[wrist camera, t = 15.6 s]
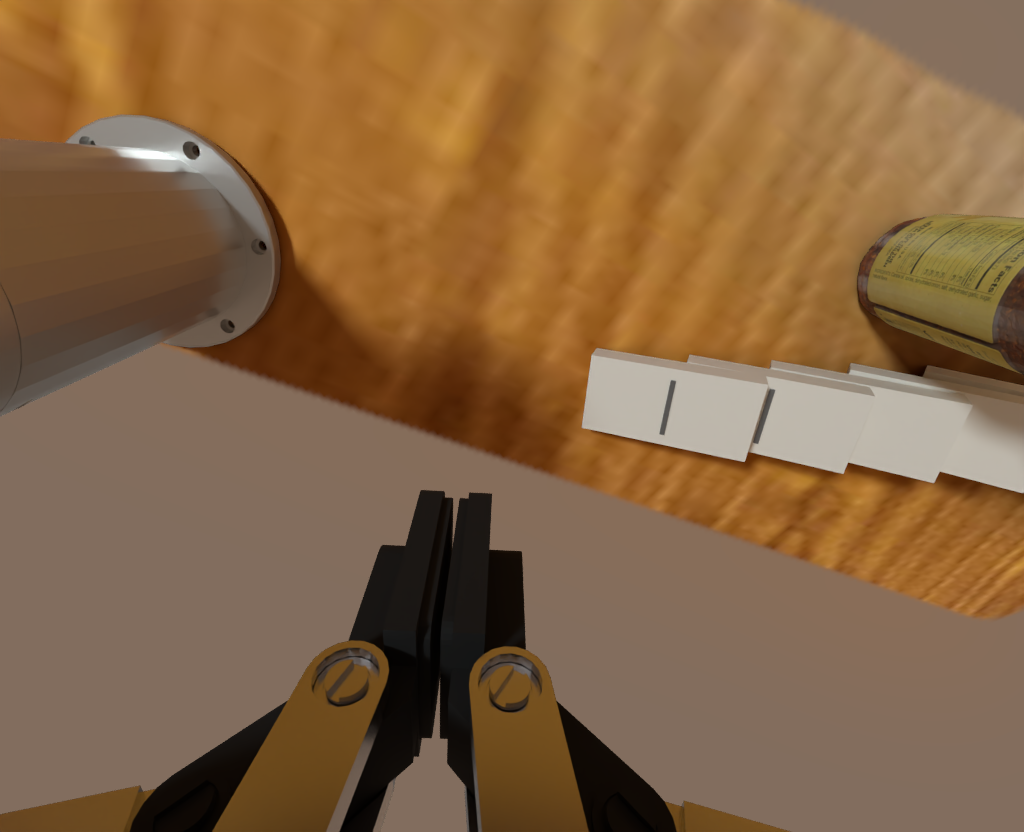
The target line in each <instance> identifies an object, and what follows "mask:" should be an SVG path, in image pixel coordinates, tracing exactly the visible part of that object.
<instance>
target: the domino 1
mask: <svg viewBox="0 0 1024 832" xmlns="http://www.w3.org/2000/svg"><path fill="white" fill-rule="evenodd" d="M767 388H768V382H767V378H766V376H764V375H758V374H752V373H746V372H740V371H734V370H728V369H722V368H716V367H710V366H703V365H697V364H691V363H685V362H679V361H673V360H667V359H661V358H655V357H649V356H642V355H636V354H630V353H624V352H618V351H612V350H606V349H600V348H596V350H595V351H594V353H593V354H592V357H591V364H590V371H589V379H588V386H587V393H586V400H585V408H584V415H583V422H582V428H585V429H590V430H595V431H600V432H604V433H609V434H614V435H619V436H623V437H628V438H633V439H638V440H642V441H647V442H652V443H656V444H661V445H666V446H671V447H675V448H680V449H685V450H690V451H694V452H699V453H704V454H709V455H713V456H718V457H723V458H728V459H732V460H737V461H742V462H745V460H746V457H747V453H748V450H749V447H750V444H751V440H752V437H753V434H754V431H755V427H756V424H757V421H758V417H759V414H760V411H761V408H762V404H763V401H764V398H765V395H766V391H767Z"/></svg>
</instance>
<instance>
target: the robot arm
mask: <svg viewBox="0 0 1024 832" xmlns="http://www.w3.org/2000/svg"><path fill="white" fill-rule="evenodd" d="M197 148H199V150H200V155H199V154H198V152H197ZM262 242H264V243H265V245H266V247H267V249H265V248H264V247H263V245H262ZM280 267H281V257H280V247H279V239H278V236H277V232H276V229H275V225H274V222H273V218H272V216H271V214H270V212H269V210H268V208H267V206H266V203H265V201H264V199H263V197H262V195H261V194H260V192H259V191H258V189H257V188H256V187H255V185H254V184H253V182H252V181H251V179H250V178H249V176H248V175H247V174H246V173H245V172H244V171H243V169H242V168H241V167H240V166H239V165H238V164H237V163H236V162H235V161H234V160H233V158H232V157H231V156H229V155H228V154H227V153H226V152H224V151H223V150H222V149H221V148H219V147H218V146H217V145H216V144H214V143H213V142H212V141H211V140H209V139H207V138H205V137H204V136H202V135H200V134H198V133H197V132H195V131H193V130H191V129H190V128H187V127H185V126H182V125H179V124H176V123H174V122H171V121H168V120H164V119H158V118H153V117H148V116H138V115H117V116H112V117H106V118H101V119H98V120H96V121H94V122H92V123H90V124H88V125H86V126H84V127H81V128H80V129H79V130H78V131H77V132H76V133H75V134H74V135H72V136H71V137H70V138H69V139H68V140H67V141H66V142H65V143H57V142H43V141H29V140H15V139H1V138H0V416H2V415H4V414H7V413H9V412H11V411H13V410H15V409H17V408H20V407H22V406H24V405H26V404H28V403H30V402H33V401H35V400H37V399H39V398H41V397H43V396H46V395H48V394H50V393H52V392H54V391H56V390H59V389H61V388H63V387H65V386H67V385H69V384H72V383H74V382H76V381H78V380H81V379H83V378H85V377H87V376H89V375H91V374H94V373H96V372H98V371H100V370H102V369H104V368H107V367H109V366H111V365H113V364H115V363H117V362H119V361H122V360H124V359H126V358H128V357H130V356H132V355H135V354H137V353H139V352H141V351H144V350H146V349H148V348H150V347H152V346H155V345H157V344H159V343H161V342H162V343H166V344H169V345H175V346H182V347H189V348H192V347H209V346H213V345H217V344H221V343H225V342H227V341H229V340H232V339H234V338H236V337H238V336H240V335H241V334H243V333H244V332H246V331H247V330H249V329H250V328H252V327H253V326H255V325H256V323H257V322H258V321H259V320H260V319H261V318H262V317H263V316H264V315H265V314H266V312H267V310H268V309H269V307H270V305H271V303H272V301H273V300H274V297H275V294H276V291H277V287H278V284H279V279H280ZM232 322H233V323H234V324H233V323H232ZM491 503H492V494H488V493H469V499H465V498H460V501H459V507H458V514H457V521H456V528H455V536H454V542H453V548H452V535H453V498H445V492H444V491H426V490H421V492H420V495H419V498H418V502H417V506H416V509H415V513H414V517H413V520H412V524H411V528H410V531H409V535H408V539H407V542H406V546H394V545H392V546H391V545H382V546H381V548H380V550H379V552H378V555H377V558H376V561H375V564H374V567H373V570H372V573H371V576H370V579H369V582H368V585H367V588H366V591H365V594H364V597H363V600H362V603H361V605H360V608H359V611H358V614H357V617H356V621H355V623H354V626H353V629H352V632H351V635H350V638H349V641H347V642H342V643H338V644H336V645H333V646H331V647H329V648H327V649H325V650H324V651H323V652H321V653H320V654H319V655H318V656H316V657H315V658H314V659H313V661H312V662H311V663H310V665H309V666H308V667H307V669H306V670H305V672H304V674H303V675H302V677H301V679H300V681H299V682H298V684H297V686H296V688H295V689H294V691H293V693H292V695H291V696H290V698H289V700H288V701H286V702H285V703H283V704H282V705H280V706H279V707H277V708H275V709H274V710H272V711H271V712H269V713H268V714H266V715H265V716H263V717H262V718H260V719H258V720H257V721H255V722H254V723H253V724H251V725H249V726H248V727H246V728H245V729H243V730H242V731H240V732H239V733H237V734H235V735H234V736H232V737H231V738H229V739H228V740H226V741H225V742H223V743H222V744H220V745H218V746H217V747H215V748H214V749H212V750H211V751H210V752H208V753H206V754H205V755H203V756H202V757H200V758H198V759H197V760H195V761H194V762H192V763H191V764H189V765H188V766H186V767H185V768H183V769H182V770H180V771H178V772H177V773H175V774H174V775H172V776H171V777H170V778H169V779H167V780H166V781H165V782H164V783H162V784H161V785H160V786H159V787H157V788H156V789H153V790H148V791H144V792H143V790H142V788H141V786H135V787H130V788H125V789H120V790H116V791H110V792H106V793H101V794H96V795H91V796H86V797H82V798H76V799H72V800H67V801H62V802H57V803H53V804H47V805H43V806H38V807H33V808H29V809H23V810H18V811H13V812H8V813H4V814H0V832H380V831H381V827H382V825H383V822H384V819H385V815H386V812H387V809H388V806H389V803H390V800H391V797H392V794H393V791H394V785H395V779H396V777H397V776H398V775H399V774H400V773H401V772H402V771H404V770H405V769H406V768H407V767H408V766H409V765H411V763H413V758H414V756H417V757H418V756H419V753H420V746H421V740H422V738H432V733H433V726H434V719H435V711H436V704H437V696H438V689H439V681H440V738H441V739H448V753H447V763H448V765H449V766H450V767H451V768H452V770H453V771H454V772H455V773H456V775H457V776H458V777H459V778H460V780H461V781H462V782H463V783H464V784H465V807H466V822H467V832H791V831H787V830H784V829H780V828H776V827H773V826H770V825H767V824H763V823H760V822H756V821H753V820H749V819H746V818H742V817H739V816H735V815H732V814H728V813H725V812H722V811H718V810H715V809H711V808H708V807H704V806H701V805H697V804H694V803H691V802H687V801H684V802H683V804H682V806H679V805H675V804H672V803H668V802H665V801H663V799H662V798H661V797H660V796H659V795H658V794H657V793H656V791H655V790H654V789H653V788H652V787H651V786H650V785H649V784H647V783H646V782H645V781H644V780H643V779H642V778H641V777H640V776H639V775H637V774H636V773H635V772H634V771H633V770H632V769H631V768H630V767H629V766H628V765H627V764H625V763H624V762H623V761H622V760H621V759H620V758H619V757H618V756H617V755H616V754H614V753H613V752H612V751H611V750H610V749H609V748H608V747H607V746H606V745H605V744H603V743H602V742H601V741H600V740H599V739H598V738H597V737H596V736H595V735H594V734H592V733H591V732H590V731H589V730H588V729H587V728H586V727H585V726H584V725H583V724H581V723H580V722H579V721H578V720H577V719H576V718H575V717H574V716H572V715H571V714H570V713H569V712H568V711H567V710H566V709H565V708H564V707H563V706H562V705H561V704H559V703H558V702H557V701H556V698H555V694H554V690H553V686H552V681H551V677H550V675H549V673H548V670H547V668H546V666H545V665H544V664H543V663H542V661H541V660H540V659H539V658H538V657H537V656H535V655H534V654H532V653H530V652H529V651H527V650H526V644H525V619H524V593H523V566H522V552H521V551H503V550H489V544H490V523H491Z"/></svg>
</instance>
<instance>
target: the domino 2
mask: <svg viewBox="0 0 1024 832" xmlns="http://www.w3.org/2000/svg"><path fill="white" fill-rule="evenodd" d="M687 363H691V364H697V365H703V366H710V367H716V368H722V369H728V370H734V371H740V372H746V373H752V374H758V375H764V376H766V378H767V382H768V388H767V391H766V395H765V398H764V401H763V404H762V408H761V411H760V414H759V417H758V421H757V424H756V427H755V431H754V434H753V437H752V440H751V444H750V447H749V450H748V452H751V453H756V454H760V455H764V456H768V457H773V458H777V459H781V460H786V461H790V462H794V463H799V464H803V465H807V466H811V467H816V468H820V469H824V470H829V471H833V472H837V473H842V474H843V473H844V471H845V469H846V466H847V464H848V461H849V459H850V457H851V454H852V452H853V449H854V447H855V445H856V442H857V440H858V437H859V435H860V433H861V430H862V428H863V425H864V423H865V421H866V418H867V416H868V413H869V411H870V409H871V406H872V404H873V401H874V399H875V397H876V396H875V395H874V393H873V392H872V390H871V389H870V387H867V386H862V385H856V384H851V383H845V382H839V381H834V380H828V379H823V378H817V377H812V376H806V375H800V374H795V373H789V372H784V371H778V370H773V369H767V368H761V367H756V366H750V365H745V364H739V363H734V362H728V361H722V360H717V359H711V358H706V357H700V356H695V355H689V358H688V361H687Z"/></svg>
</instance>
